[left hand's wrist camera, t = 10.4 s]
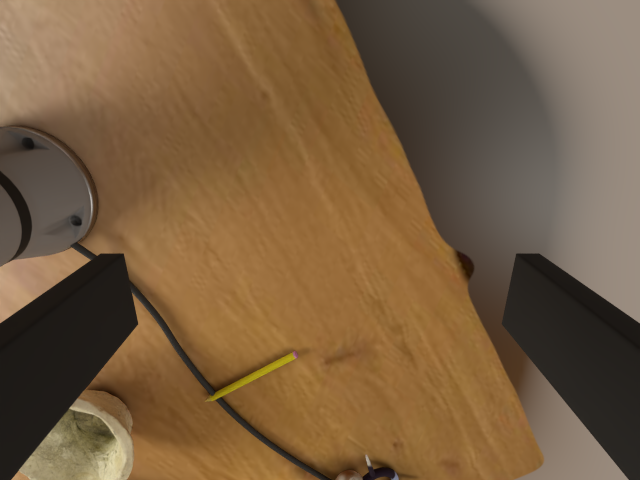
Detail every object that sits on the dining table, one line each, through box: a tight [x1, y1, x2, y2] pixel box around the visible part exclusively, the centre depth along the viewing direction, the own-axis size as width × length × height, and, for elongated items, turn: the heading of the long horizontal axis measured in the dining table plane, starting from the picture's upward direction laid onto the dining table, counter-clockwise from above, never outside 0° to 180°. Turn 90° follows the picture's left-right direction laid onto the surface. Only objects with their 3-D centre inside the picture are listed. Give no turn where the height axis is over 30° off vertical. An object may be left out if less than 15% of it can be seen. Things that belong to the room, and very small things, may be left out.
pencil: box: [204, 351, 298, 402], centre depth 54 cm, size 16×1×1 cm, turn 122°
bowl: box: [19, 390, 134, 480], centre depth 50 cm, size 14×18×15 cm
